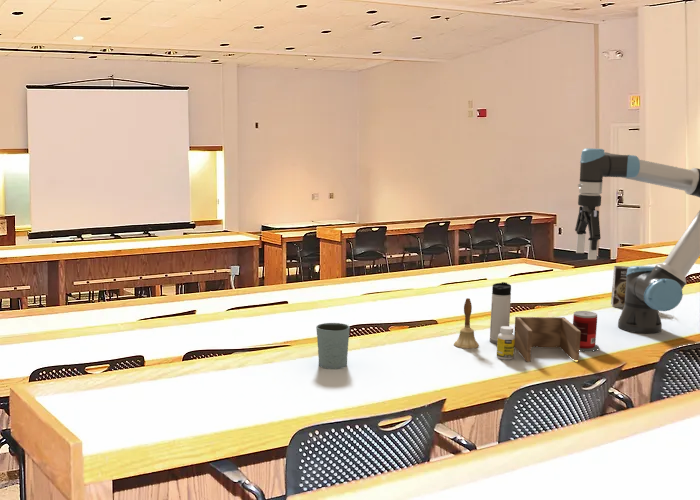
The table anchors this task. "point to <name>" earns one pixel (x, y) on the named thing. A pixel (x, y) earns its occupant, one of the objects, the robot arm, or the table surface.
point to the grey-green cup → (332, 345)
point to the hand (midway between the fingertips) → (585, 256)
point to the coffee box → (619, 286)
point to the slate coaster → (590, 348)
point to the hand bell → (467, 330)
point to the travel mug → (499, 309)
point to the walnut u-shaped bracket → (546, 335)
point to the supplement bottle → (506, 343)
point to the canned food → (586, 327)
